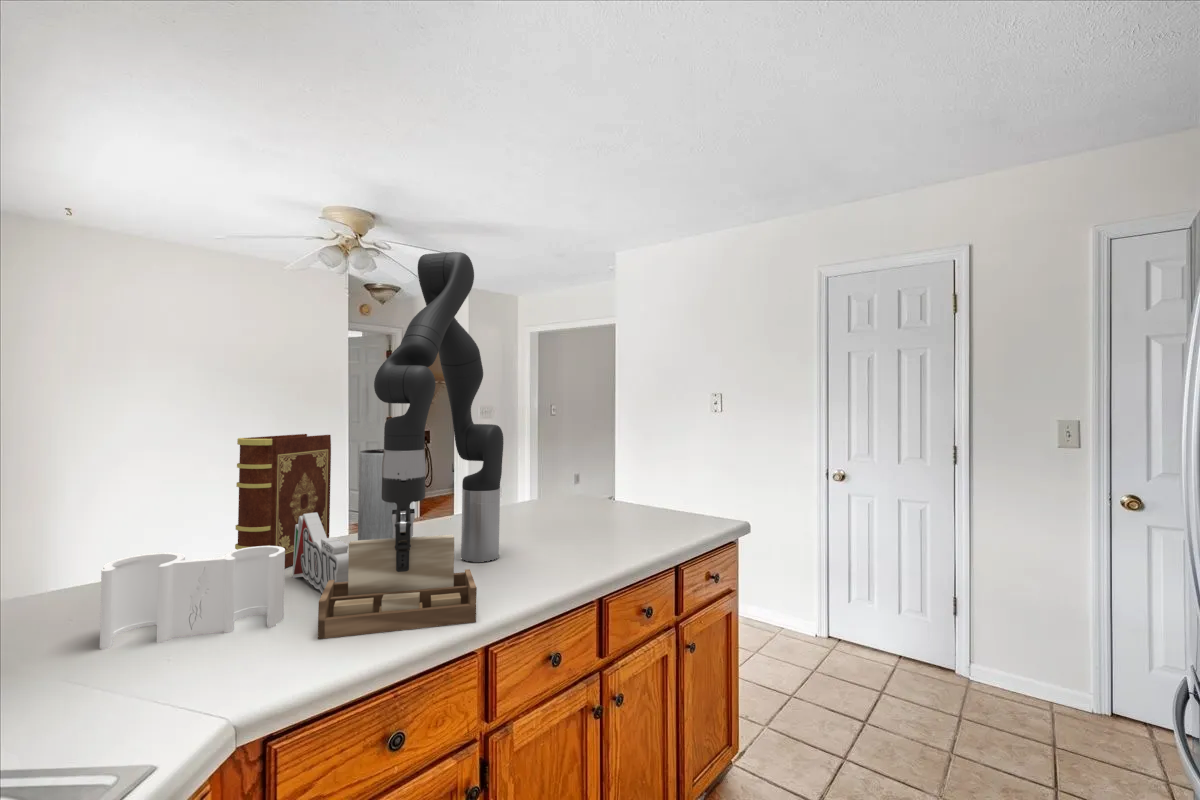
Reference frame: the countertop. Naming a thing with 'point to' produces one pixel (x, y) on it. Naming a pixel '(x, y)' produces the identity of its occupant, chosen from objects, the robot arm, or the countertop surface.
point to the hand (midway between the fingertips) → (402, 568)
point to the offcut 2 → (445, 600)
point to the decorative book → (281, 488)
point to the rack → (396, 619)
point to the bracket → (191, 592)
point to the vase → (373, 499)
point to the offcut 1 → (353, 607)
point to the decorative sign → (318, 553)
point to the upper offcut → (400, 601)
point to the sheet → (378, 565)
